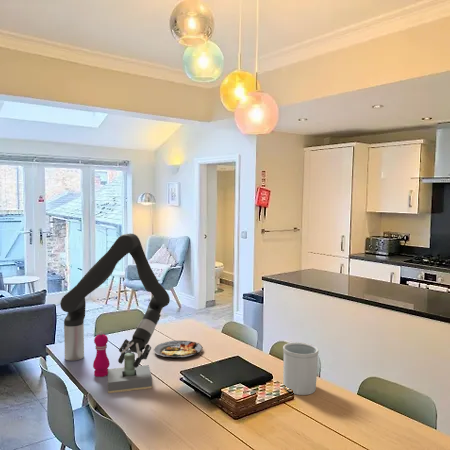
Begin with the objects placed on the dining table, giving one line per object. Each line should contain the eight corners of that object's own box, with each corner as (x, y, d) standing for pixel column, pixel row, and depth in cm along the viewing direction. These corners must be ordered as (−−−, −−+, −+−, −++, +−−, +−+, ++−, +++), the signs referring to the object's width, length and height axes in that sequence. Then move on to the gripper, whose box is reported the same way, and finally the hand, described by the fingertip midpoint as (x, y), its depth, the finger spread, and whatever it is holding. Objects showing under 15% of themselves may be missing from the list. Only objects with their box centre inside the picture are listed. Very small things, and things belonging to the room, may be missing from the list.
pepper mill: (104, 378, 187) (104, 334, 186) (90, 376, 188) (89, 333, 187) (112, 371, 194) (112, 329, 193) (98, 370, 195) (97, 328, 194)
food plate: (205, 344, 231) (204, 338, 230) (199, 361, 207) (198, 354, 207) (160, 344, 233) (160, 337, 232) (149, 360, 209) (149, 353, 209)
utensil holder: (295, 377, 190) (296, 339, 188) (324, 388, 179) (325, 348, 178) (275, 387, 179) (275, 347, 178) (304, 399, 169) (305, 357, 168)
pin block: (107, 379, 186) (107, 369, 186) (148, 374, 191) (148, 364, 191) (108, 393, 173) (107, 382, 172) (152, 388, 178) (152, 377, 177)
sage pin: (124, 379, 183) (124, 353, 182) (134, 378, 185) (134, 352, 183) (124, 384, 179) (124, 357, 178) (135, 383, 180) (135, 356, 179)
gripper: (128, 324, 190) (110, 357, 181) (153, 329, 183) (135, 364, 174) (136, 332, 195) (119, 365, 186) (160, 338, 188) (144, 372, 179)
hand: (127, 364), depth 180 cm, fingers open, 8 cm apart
